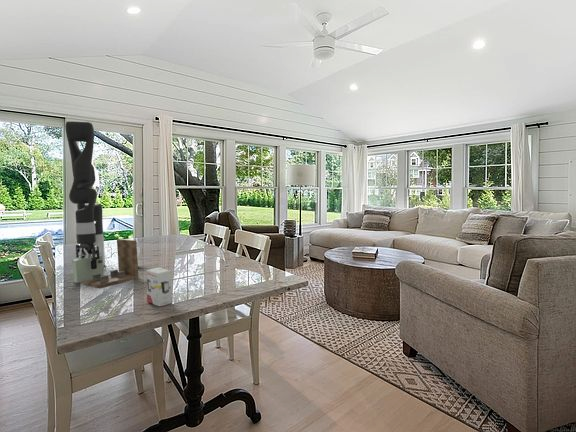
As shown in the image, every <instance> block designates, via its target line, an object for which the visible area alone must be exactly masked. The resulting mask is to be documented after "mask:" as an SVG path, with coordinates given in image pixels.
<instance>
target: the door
mask: <svg viewBox="0 0 576 432" xmlns="http://www.w3.org/2000/svg"><path fill="white" fill-rule="evenodd" d="M99 256H100V259H98V260H97V261H96V262H97V268H96V269H91V260H90V258H89V257H86V258H81V259H78V258H76V259H72V268H73V269H72V270H73V283H74V284H75V283H76V284H80V283H82V282H84V281H88V280H92V279H93V275H96V274H101V276H104V272H105V271H104V266H103V258H102V255H99ZM96 257H97V256H96ZM92 258H93V257H92Z"/></svg>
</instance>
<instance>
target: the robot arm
mask: <svg viewBox="0 0 576 432" xmlns="http://www.w3.org/2000/svg"><path fill="white" fill-rule="evenodd" d="M65 134H66V140H67V144H68V148H69V152H70V160H71V169H72V176H73V180H72V181H73V182H72V185H71V188H70V191H69V195H68V197H69V198H68V199H69V200H70V202H71V203H72V204H75V205H76V206H77V207H76V208H77V210H75V214H74V215H75V235H76V245H75V257H76V259H81V258H86V257H89V258H90V260H91V269H96V268H97V262H96V261H97V260H98V259H100V256H99V255H102V258H103V267H105V266H106V255H105V241H104V240H105V239H104V227H103V206H102V204H101V203H96V202H97V199H98V192H97V190H96V189H95V188H93V186H94V184H95V182H96V174H95V173H96V171H95V167H94V165H93V164H92V161H93V153H94V144H95V143H94V142H95V129H94V126H93V123H92V122H90V121H83V120H82V121H81V120H79V121H78V120H68V121H66V122H65ZM77 142H79V143H81V142H82V143H85V146H84V148H83V149H82V150H81V149H80V147H79V145H78V143H77ZM96 256H97V257H96ZM92 257H93V258H92Z"/></svg>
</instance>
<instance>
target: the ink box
mask: <svg viewBox="0 0 576 432" xmlns="http://www.w3.org/2000/svg"><path fill="white" fill-rule="evenodd" d="M171 274H172V273H171V271H170V270H168V269H165V268H163V267H154V268H150V269H146V296H147V297H146V301H147V303H150V304H152V305H155V306H156V307H162V306H166V305H170V304H172V282H171V277H172V276H171Z"/></svg>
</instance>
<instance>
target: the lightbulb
mask: <svg viewBox="0 0 576 432" xmlns="http://www.w3.org/2000/svg"><path fill="white" fill-rule="evenodd" d="M140 253H141V249H140V247H139V246H138V245H137V259H138V257H139V255H140Z"/></svg>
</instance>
